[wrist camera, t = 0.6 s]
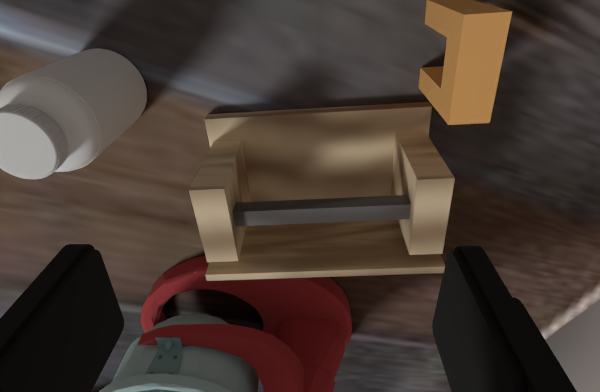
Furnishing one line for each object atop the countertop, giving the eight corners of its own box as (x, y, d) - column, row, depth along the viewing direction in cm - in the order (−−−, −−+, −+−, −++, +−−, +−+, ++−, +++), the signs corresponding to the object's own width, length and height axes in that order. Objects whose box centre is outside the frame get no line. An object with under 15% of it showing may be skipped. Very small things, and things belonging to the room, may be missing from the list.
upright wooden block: (427, -1, 35) (464, 14, 27) (463, -3, 35) (512, 11, 26) (418, 87, 39) (448, 125, 31) (450, 85, 39) (489, 122, 31)
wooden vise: (207, 114, 41) (176, 164, 32) (428, 101, 40) (466, 149, 30) (227, 214, 48) (207, 281, 38) (416, 206, 47) (444, 273, 37)
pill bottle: (150, 57, 38) (71, 108, 26) (147, 131, 42) (78, 207, 30) (67, 36, 37) (-58, 79, 25) (72, 113, 42) (-32, 184, 29)
